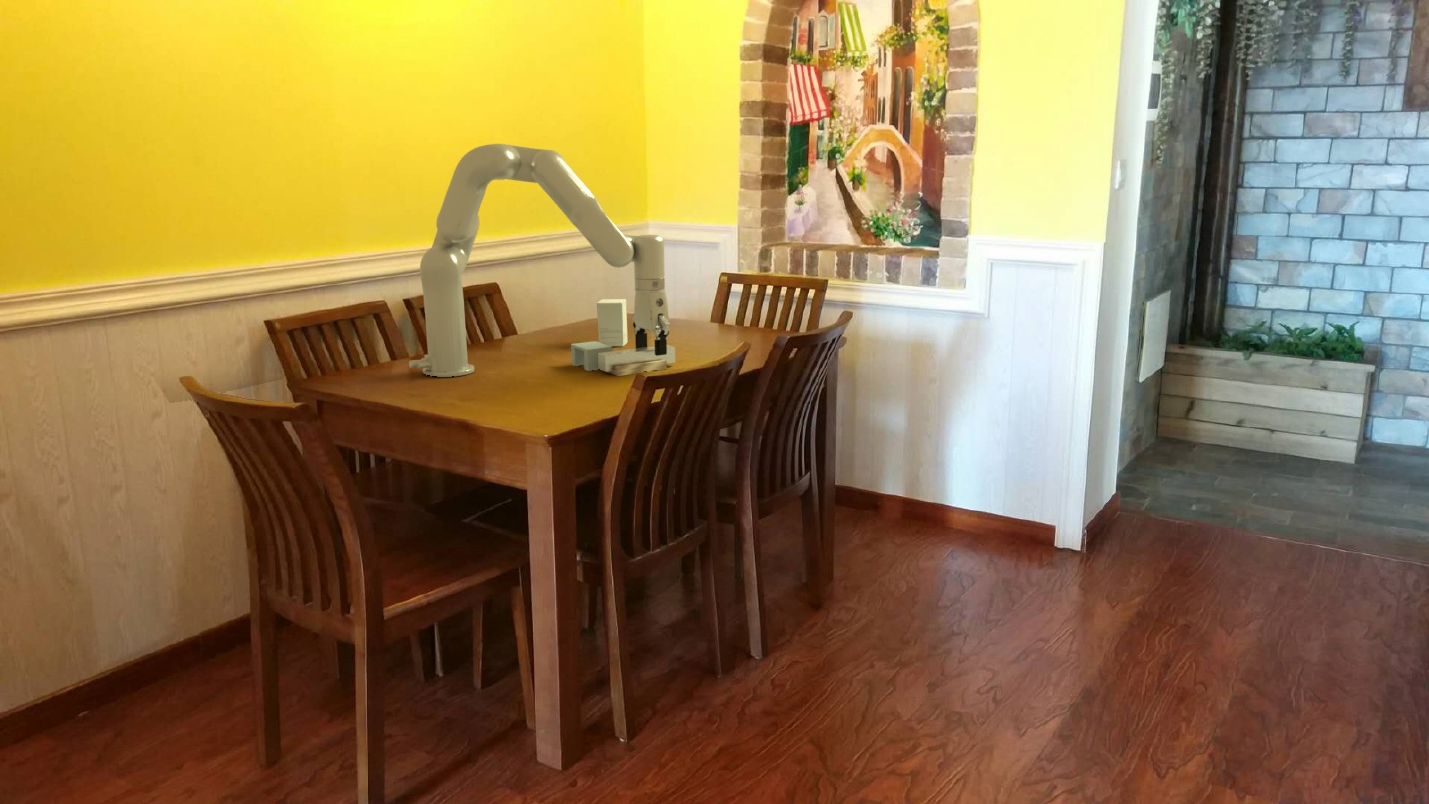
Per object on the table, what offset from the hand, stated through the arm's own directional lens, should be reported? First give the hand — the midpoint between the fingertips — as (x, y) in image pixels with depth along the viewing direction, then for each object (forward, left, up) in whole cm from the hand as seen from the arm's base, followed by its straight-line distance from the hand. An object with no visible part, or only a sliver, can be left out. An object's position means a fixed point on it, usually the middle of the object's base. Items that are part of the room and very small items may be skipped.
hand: (651, 351), depth 264 cm
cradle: (-5, 0, -4) cm, 6 cm away
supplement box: (+7, +34, -4) cm, 35 cm away
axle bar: (-4, 0, -3) cm, 5 cm away
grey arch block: (-12, +10, -4) cm, 16 cm away
